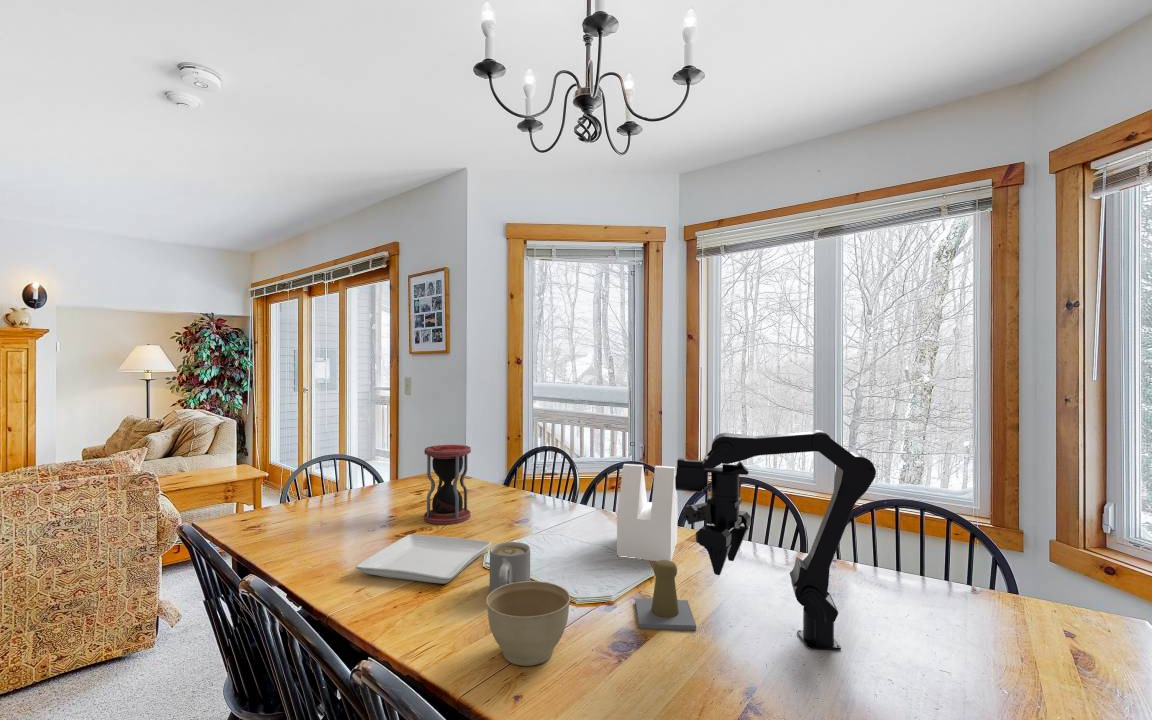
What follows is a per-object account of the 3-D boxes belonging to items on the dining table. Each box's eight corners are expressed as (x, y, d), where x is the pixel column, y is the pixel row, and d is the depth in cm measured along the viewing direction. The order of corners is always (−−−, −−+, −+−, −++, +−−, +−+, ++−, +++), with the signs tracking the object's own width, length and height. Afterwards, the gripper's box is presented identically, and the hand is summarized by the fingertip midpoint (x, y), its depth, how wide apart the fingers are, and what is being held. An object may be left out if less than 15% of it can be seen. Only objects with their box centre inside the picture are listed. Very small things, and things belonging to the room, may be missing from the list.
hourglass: (457, 509, 204) (457, 442, 204) (478, 519, 191) (479, 448, 191) (416, 516, 193) (416, 447, 193) (436, 527, 181) (436, 453, 181)
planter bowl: (585, 645, 107) (585, 591, 107) (538, 688, 93) (539, 625, 93) (519, 625, 115) (519, 574, 115) (468, 661, 102) (468, 603, 102)
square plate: (352, 580, 139) (353, 565, 139) (409, 545, 166) (410, 532, 166) (449, 591, 133) (449, 575, 133) (492, 553, 159) (492, 539, 159)
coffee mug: (499, 578, 140) (500, 540, 140) (535, 583, 137) (536, 544, 137) (475, 600, 127) (476, 558, 127) (515, 606, 124) (515, 563, 124)
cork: (680, 618, 117) (680, 567, 117) (652, 617, 117) (652, 566, 117) (677, 605, 123) (677, 557, 123) (650, 604, 123) (650, 556, 123)
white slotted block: (670, 563, 152) (671, 474, 151) (616, 557, 156) (617, 470, 156) (677, 541, 170) (677, 461, 170) (628, 536, 174) (629, 458, 174)
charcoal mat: (696, 630, 114) (696, 625, 114) (638, 628, 114) (638, 623, 114) (687, 604, 126) (687, 600, 126) (635, 602, 126) (635, 598, 126)
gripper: (703, 480, 127) (702, 547, 127) (671, 497, 111) (671, 573, 111) (751, 487, 120) (751, 557, 121) (725, 505, 105) (724, 586, 105)
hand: (724, 567), depth 114 cm, fingers open, 9 cm apart
